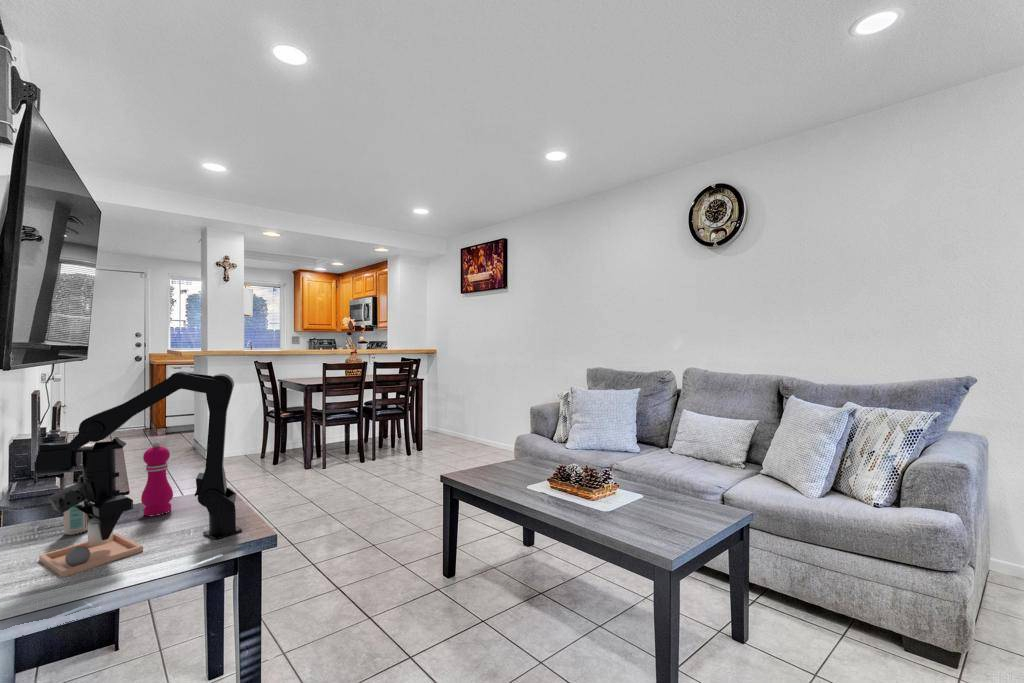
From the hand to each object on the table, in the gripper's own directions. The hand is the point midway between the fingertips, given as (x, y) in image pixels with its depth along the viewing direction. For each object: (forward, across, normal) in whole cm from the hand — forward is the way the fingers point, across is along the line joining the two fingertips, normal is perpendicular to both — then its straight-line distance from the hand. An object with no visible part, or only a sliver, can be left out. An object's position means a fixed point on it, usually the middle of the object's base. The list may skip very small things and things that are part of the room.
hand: (100, 537), depth 112 cm
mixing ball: (+3, +5, -6) cm, 8 cm away
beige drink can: (+4, -20, +1) cm, 20 cm away
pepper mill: (+4, -18, +18) cm, 26 cm away
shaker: (+1, 0, 0) cm, 1 cm away
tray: (+4, +2, -2) cm, 4 cm away
